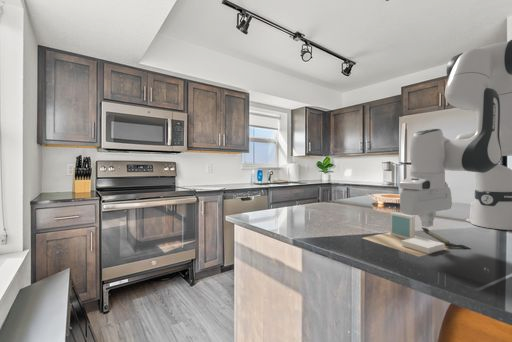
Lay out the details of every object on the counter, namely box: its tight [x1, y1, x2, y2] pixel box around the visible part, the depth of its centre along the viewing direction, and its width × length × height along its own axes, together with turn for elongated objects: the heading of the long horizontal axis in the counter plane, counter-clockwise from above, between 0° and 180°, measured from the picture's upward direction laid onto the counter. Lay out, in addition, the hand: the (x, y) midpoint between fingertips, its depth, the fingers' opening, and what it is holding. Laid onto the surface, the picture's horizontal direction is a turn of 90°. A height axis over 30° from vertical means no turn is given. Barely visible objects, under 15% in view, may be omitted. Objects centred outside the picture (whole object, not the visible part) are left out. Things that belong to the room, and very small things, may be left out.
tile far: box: [389, 211, 416, 239], centre depth 87 cm, size 2×8×8 cm, turn 24°
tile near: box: [402, 236, 446, 255], centre depth 76 cm, size 2×8×8 cm
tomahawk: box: [421, 226, 472, 250], centre depth 84 cm, size 21×7×1 cm, turn 166°
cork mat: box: [362, 231, 454, 258], centre depth 82 cm, size 18×20×1 cm
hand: (427, 226), depth 77 cm, fingers closed
